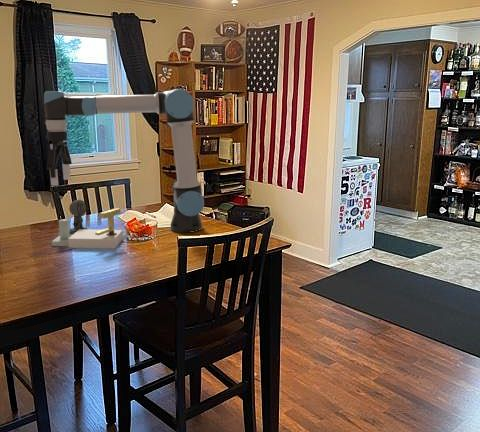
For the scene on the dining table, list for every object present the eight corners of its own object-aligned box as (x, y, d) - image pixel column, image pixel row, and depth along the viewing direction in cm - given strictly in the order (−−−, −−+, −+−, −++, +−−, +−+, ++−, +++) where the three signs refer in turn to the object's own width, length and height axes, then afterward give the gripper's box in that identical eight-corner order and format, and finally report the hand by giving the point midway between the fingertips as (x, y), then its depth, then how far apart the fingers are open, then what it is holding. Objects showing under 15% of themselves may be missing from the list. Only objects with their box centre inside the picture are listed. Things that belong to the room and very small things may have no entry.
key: (117, 230, 206) (116, 208, 203) (121, 231, 205) (120, 208, 202) (95, 238, 194) (93, 214, 191) (99, 239, 193) (98, 215, 190)
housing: (123, 238, 209) (122, 229, 208) (114, 248, 195) (114, 239, 194) (80, 237, 209) (79, 228, 208) (68, 247, 195) (68, 238, 194)
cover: (78, 238, 206) (76, 217, 204) (71, 245, 197) (69, 223, 195) (60, 238, 206) (58, 217, 204) (51, 244, 197) (50, 222, 195)
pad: (78, 239, 207) (78, 238, 207) (70, 246, 197) (69, 245, 197) (61, 238, 207) (61, 238, 207) (52, 245, 197) (52, 245, 197)
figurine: (86, 234, 214) (84, 202, 210) (64, 233, 214) (62, 201, 211) (92, 229, 222) (90, 198, 219) (71, 228, 223) (69, 197, 219)
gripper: (59, 128, 202) (63, 177, 208) (34, 132, 178) (39, 188, 183) (76, 128, 202) (80, 177, 208) (54, 133, 178) (58, 188, 183)
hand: (61, 182), depth 195 cm, fingers open, 13 cm apart
